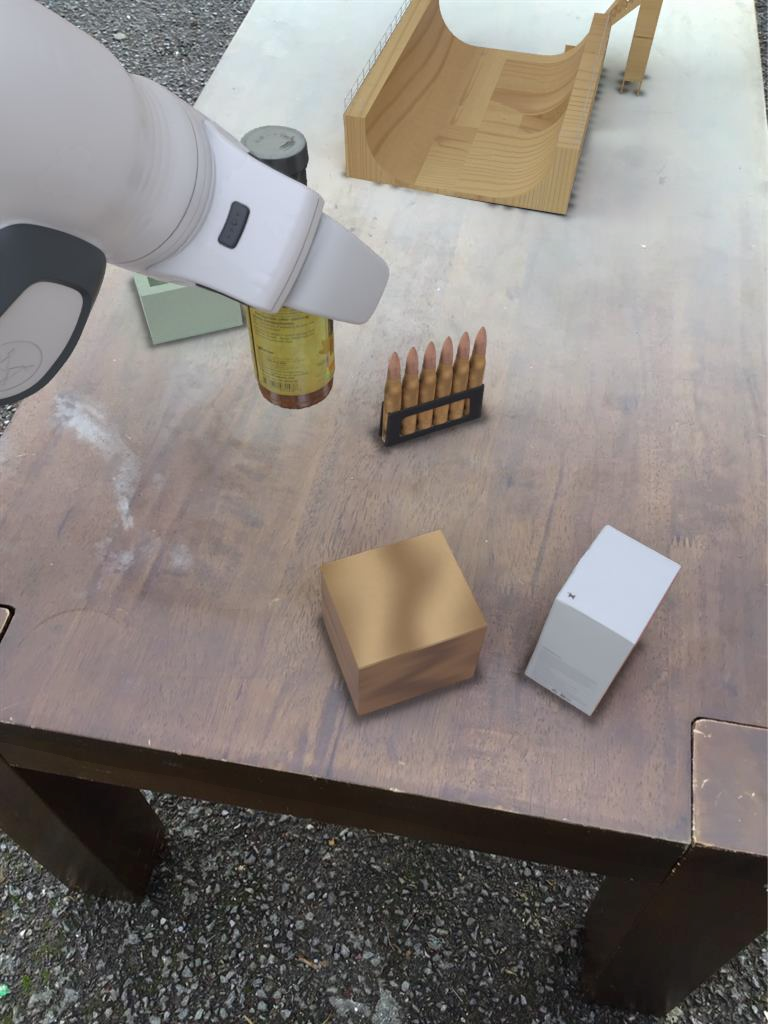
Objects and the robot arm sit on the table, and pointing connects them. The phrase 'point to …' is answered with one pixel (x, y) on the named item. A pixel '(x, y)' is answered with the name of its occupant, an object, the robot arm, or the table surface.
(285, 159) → the sauce bottle
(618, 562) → the small box
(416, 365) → the ammunition clip
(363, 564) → the wooden stand
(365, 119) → the skate ramp
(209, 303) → the holder
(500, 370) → the table surface
